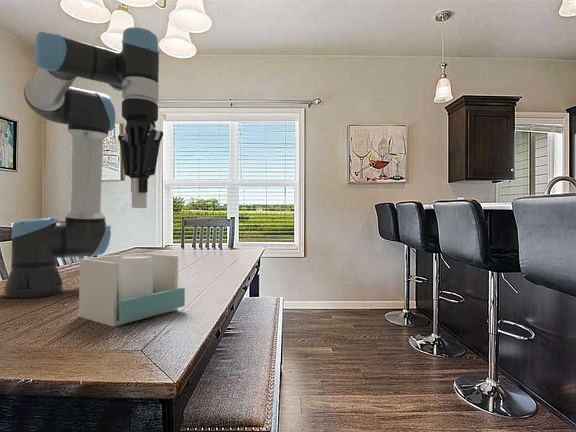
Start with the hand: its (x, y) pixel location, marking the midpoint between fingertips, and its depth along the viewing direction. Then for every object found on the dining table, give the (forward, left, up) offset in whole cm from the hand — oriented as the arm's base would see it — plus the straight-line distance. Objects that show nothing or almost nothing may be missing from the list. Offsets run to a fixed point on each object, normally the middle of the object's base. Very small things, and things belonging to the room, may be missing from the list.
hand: (139, 207), depth 82 cm
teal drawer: (-8, +6, -25) cm, 27 cm away
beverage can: (-10, +6, -24) cm, 27 cm away
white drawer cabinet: (-11, +6, -26) cm, 29 cm away
